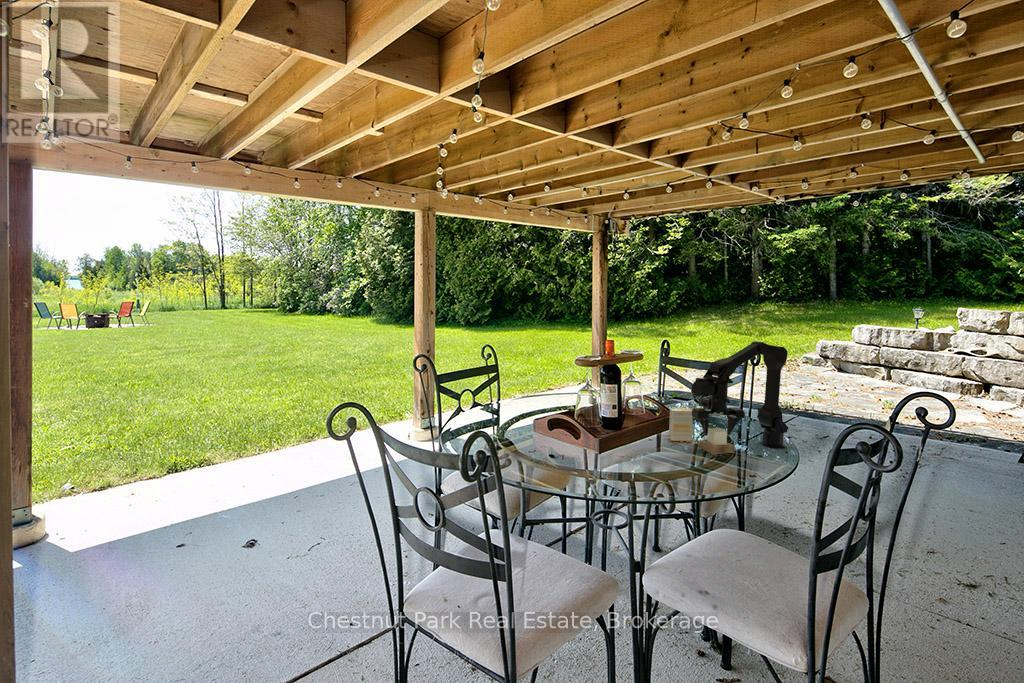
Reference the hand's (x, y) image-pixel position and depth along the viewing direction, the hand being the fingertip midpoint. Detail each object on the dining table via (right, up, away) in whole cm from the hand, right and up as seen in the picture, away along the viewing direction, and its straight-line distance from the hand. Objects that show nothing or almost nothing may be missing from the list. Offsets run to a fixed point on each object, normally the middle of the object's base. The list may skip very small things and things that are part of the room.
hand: (717, 435), depth 194 cm
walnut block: (0, -7, +1) cm, 7 cm away
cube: (0, -3, 0) cm, 3 cm away
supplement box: (-10, -5, +13) cm, 17 cm away
